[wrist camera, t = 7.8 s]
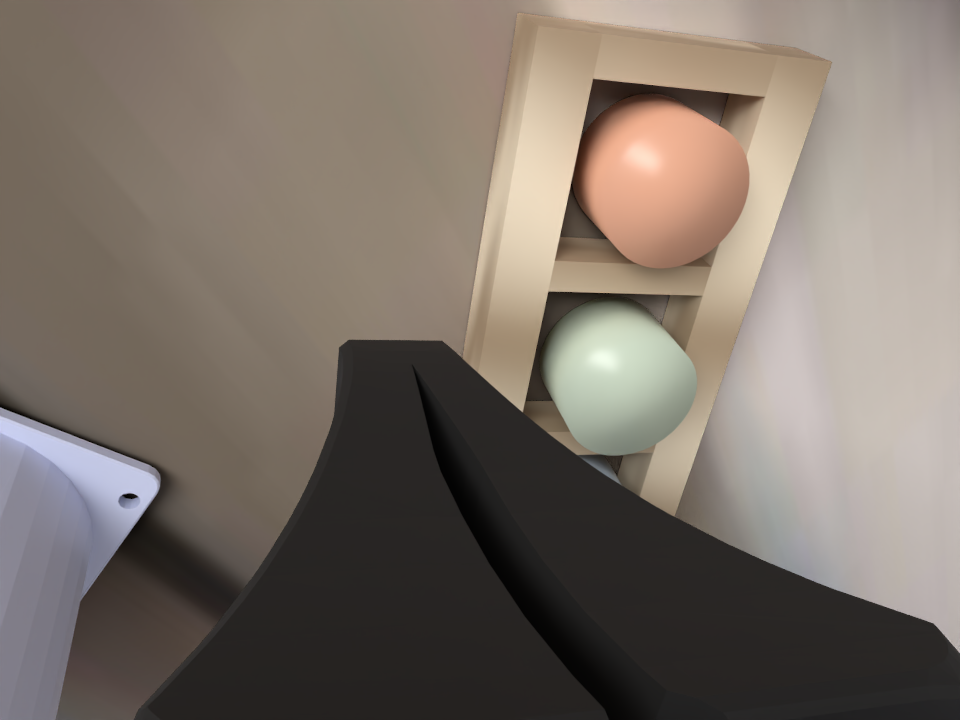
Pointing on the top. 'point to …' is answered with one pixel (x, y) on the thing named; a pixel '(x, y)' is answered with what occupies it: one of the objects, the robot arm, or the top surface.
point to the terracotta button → (660, 180)
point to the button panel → (597, 262)
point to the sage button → (617, 376)
